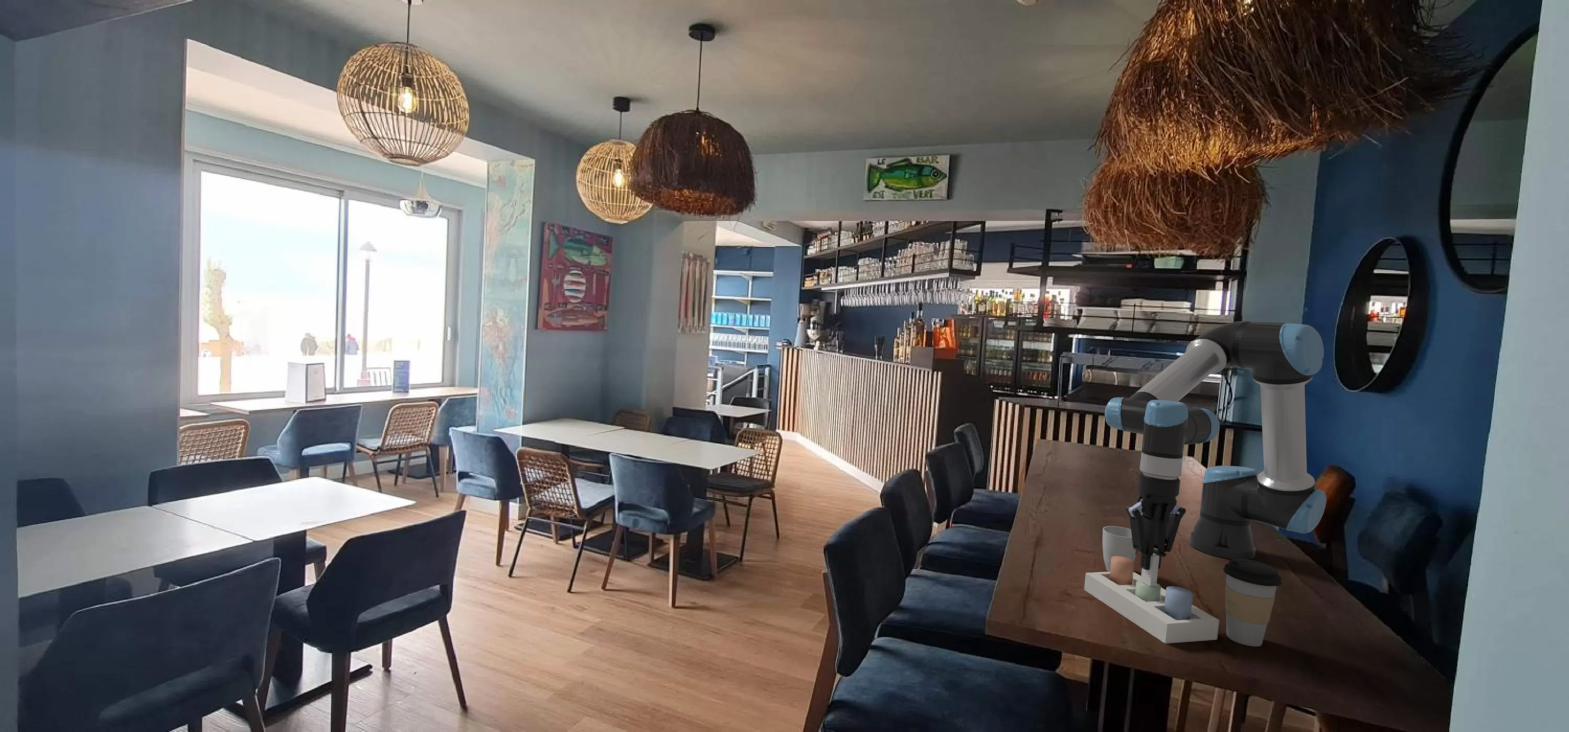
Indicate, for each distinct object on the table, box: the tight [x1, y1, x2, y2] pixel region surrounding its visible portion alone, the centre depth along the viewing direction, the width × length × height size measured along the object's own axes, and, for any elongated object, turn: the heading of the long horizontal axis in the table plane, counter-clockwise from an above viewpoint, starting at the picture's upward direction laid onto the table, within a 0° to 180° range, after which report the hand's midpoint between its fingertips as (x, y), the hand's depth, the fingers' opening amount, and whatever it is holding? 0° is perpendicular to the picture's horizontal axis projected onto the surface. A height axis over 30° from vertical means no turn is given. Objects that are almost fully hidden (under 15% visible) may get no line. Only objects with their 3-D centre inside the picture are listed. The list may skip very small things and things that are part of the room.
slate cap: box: [1164, 585, 1194, 620], centre depth 132 cm, size 5×5×5 cm
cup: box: [1102, 525, 1138, 572], centre depth 163 cm, size 8×8×10 cm
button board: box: [1083, 571, 1220, 644], centre depth 140 cm, size 12×24×4 cm, turn 12°
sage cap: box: [1135, 580, 1162, 602], centre depth 140 cm, size 5×5×5 cm
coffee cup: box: [1222, 559, 1283, 647], centre depth 130 cm, size 9×9×15 cm
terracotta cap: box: [1109, 556, 1135, 585], centre depth 148 cm, size 5×5×5 cm
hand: (1148, 583), depth 140 cm, fingers closed
